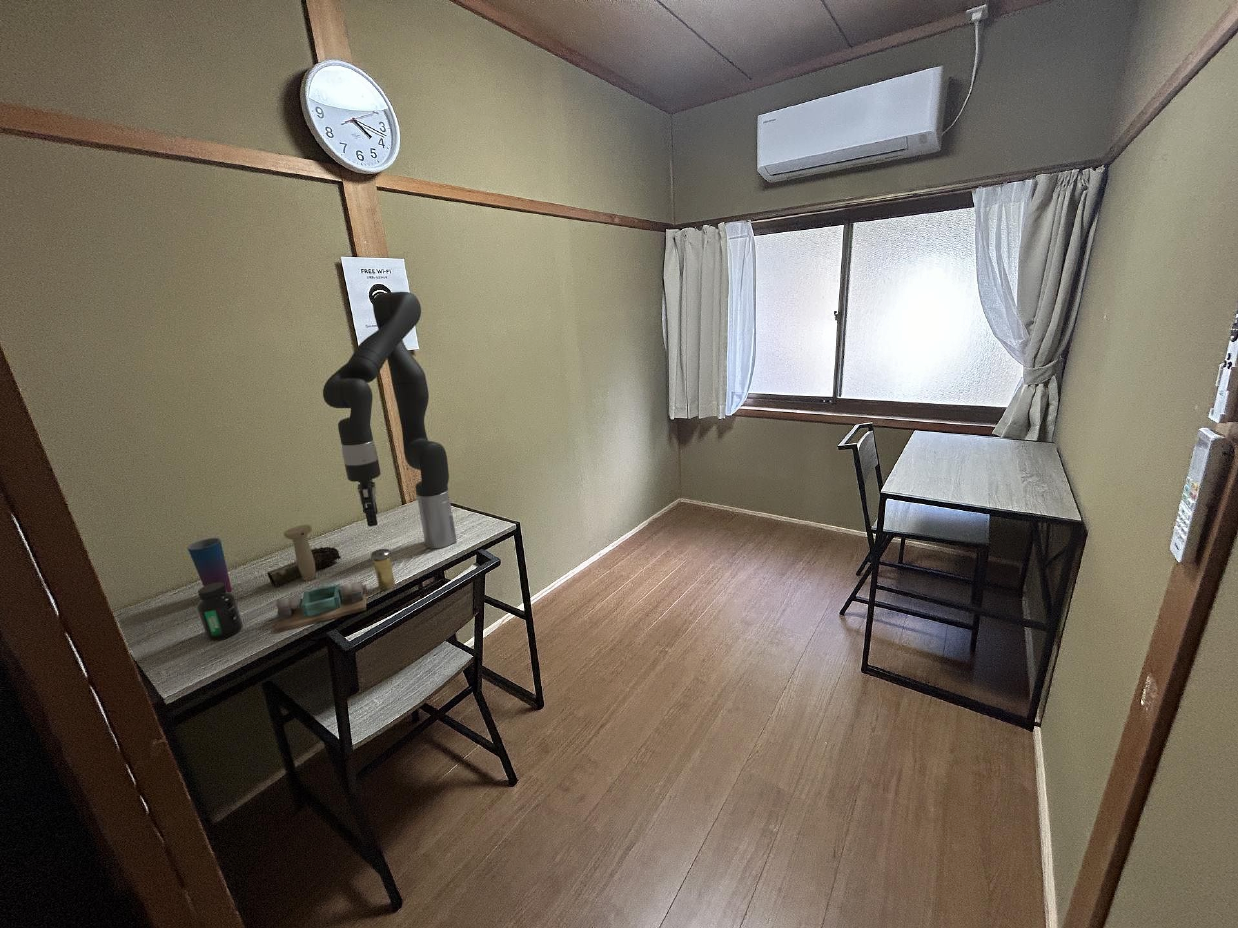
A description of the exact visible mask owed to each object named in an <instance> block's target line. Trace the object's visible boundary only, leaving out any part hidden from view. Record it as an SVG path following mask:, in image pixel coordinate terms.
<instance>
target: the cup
mask: <svg viewBox="0 0 1238 928" xmlns="http://www.w3.org/2000/svg"><path fill="white" fill-rule="evenodd" d="M187 551H188V553H189V554H190V558H191V559H192V562H193V564H194V567H195V569H196V571H197V574H198V575H199V579H200V581H201V583H202V587H204V586H206V585H209V584H212V583H218V582H221V583H224V585H225V588H226V590H227V591H226V592H229V593H231V594H232V585H231V582H230V576H229V571H228V568H227V562H226V557H225V554H224V550H223V545H222V541H221V538H220V537H209V538H204V539H200V540H196V541H194V542H193V543H190V544H189V545H188V546H187Z"/></svg>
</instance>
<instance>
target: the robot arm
mask: <svg viewBox="0 0 1238 928" xmlns="http://www.w3.org/2000/svg"><path fill="white" fill-rule="evenodd" d="M421 307H422V306H421V304H420V301H419V298H418V297H417V296H416V295H415V294H413V293H412V292H408V291H391V292H381V293H377V294H376V295H375V296H374V298H373V300H372V309H373V315H374V316H373V317H374V319H375V324H376V326H377V330H376V331H375V332H373V333H371V334H370V335H369V336H367V337H366V338H365V339H364V340H362V342H360V344H358V346H357V347H356V349H355V350H354V352H353V353H352V354H351V357H350V358H349V360H348V361H347V362H346V363H345V364H344V365H343V366H341V367H340V368H339V369H337V371H335V372H334V373H333V374H332V375H331V376H329V378H328V379H327V380H326V382H325V383H324V385H323V388H322V397H323V400H324V402H325V403H326V404H327V405H328V406H330V407H331V408H335V409H350V413H349V417H345V418H342V419H341V420H340V421H339V422H338V424H337V428H338V429H337V430H338V434H339V439H340V444H341V455H342V458H343V463H344V468H345V472H346V478H347V480H348V481H349V482H356V483H357V482H358V483H359V484H357V488H356V489H357V494H358V495H359V502H360V504H361V506H362V512H363V513H364V514H365V519H366V523H367V527H369V528H371V527H376V526H377V525H378V518H377V514H378V513H379V509H378V505H377V487H376V482H375V481H373V480H374V479H377V478H378V477H380V476H381V475H382V473H381V472H382V471H381V468H380V463H379V458H378V457H379V456H378V452H377V447H376V445H375V442H374V435H373V432H372V427H371V420H372V419H371V418H372V408H373V391H372V388H371V386H370V385H369V383H370V382H373V381H374V380H376V379H377V377H378V375H379V373H380V371H381V370H382V368H383V366H384V365H385V363H386V361H387V365H388V369H389V373H390V380H391V385H392V389H393V394H394V398H395V402H396V406H397V412H398V418H399V421H400V426H401V433H402V434H401V435H402V445H403V453H404V459H405V462H406V463H407V464H408V465H409V467H411V468H413V469H415V470H419V471H420V478H421V481H419V482H418V483H417V482H416V485H415V494H416V498H417V499H416V500H417V505H418V511H419V515H420V521H421V526H422V533H423V541H424V545H425V546H426V548H429V549H442V548H445V547H448V546H451V545H452V544H456V543H458V540H457V533H456V529H455V528H456V527H455V521H454V515H453V512H452V505H451V501H450V494H449V487H448V484H449V480H450V473H449V463H448V456H447V451H446V450H445V447H444V446H443V445H442V444H441V443H440V442H436V441H431V440H429V439H428V435H427V430H426V426H425V425H426V424H425V416H426V413H427V409H428V405H429V399H430V398H429V395H430V394H429V388H428V382H427V378H426V373H425V371H424V368H422V366H421V365H420V363H419V362H418V361H417V359H416V358H415V357H414V356H413V355H412V354H411V352H410V351H409V349H408V348H407V347H406V345H405V343H404V339H405V337H406V336H407V335H408V334H409V333H410V332H411V331H412V330H413V329H414V328H415V327H416V326H417V324H418V322H419V320H420V319H421V316H422V308H421Z"/></svg>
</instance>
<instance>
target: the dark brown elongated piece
mask: <svg viewBox="0 0 1238 928" xmlns="http://www.w3.org/2000/svg"><path fill="white" fill-rule="evenodd" d="M310 549H311V548H310ZM311 552H312V555H313V558H314V562H315V571H316V570H318V569H323V568H325V567H332V566H333V565H334V563H335V561H337V560H340V559H342V556H340V551H339V549H338V550H337V548H335V547H330V546H325V547H322V546H321V547H319V548H316V547H315V548H312V549H311ZM267 577H268V579H269V581H270V583H271V585H272V586H273V587H275V588H276V587H279V586H281V585H283V584H286V583H287V582H289V581H292V580H294V579H297V578H298V577H302V575H301V573H300V570H299V568H298V564H297V561H294V562H292V563H289V564H286V565H284V566H281V567H278V568H275V569H273V570H269V571H268V572H267Z"/></svg>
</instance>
